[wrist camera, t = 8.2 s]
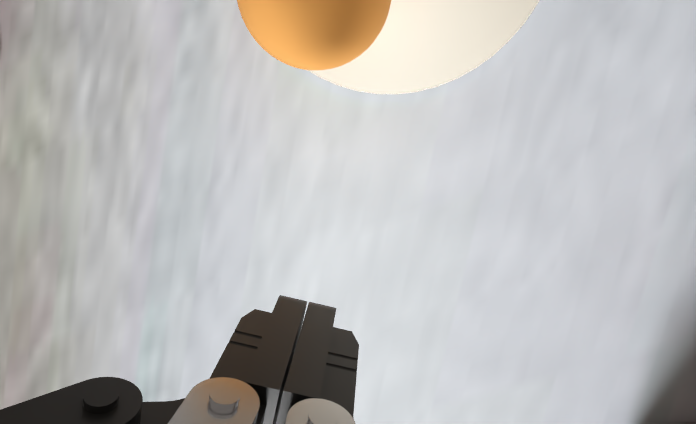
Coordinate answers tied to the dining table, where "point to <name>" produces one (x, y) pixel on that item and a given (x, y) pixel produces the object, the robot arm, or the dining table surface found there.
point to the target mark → (431, 44)
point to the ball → (314, 29)
